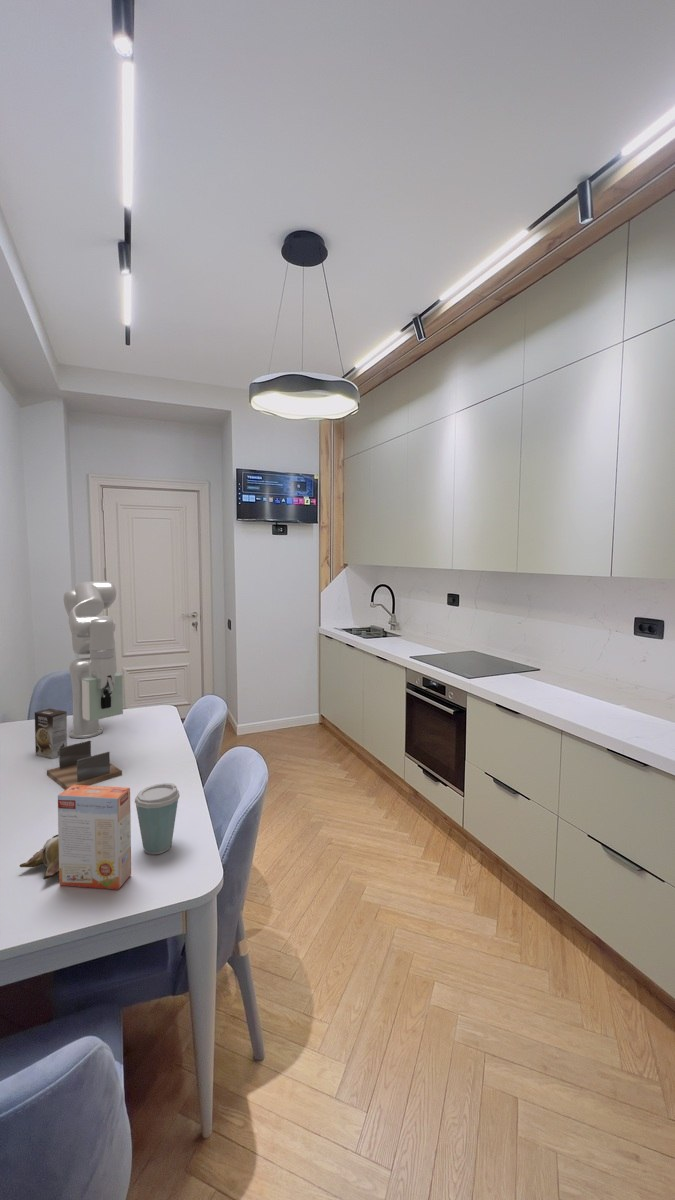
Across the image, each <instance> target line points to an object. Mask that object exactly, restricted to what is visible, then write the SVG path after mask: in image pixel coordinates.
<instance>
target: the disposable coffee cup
mask: <svg viewBox="0 0 675 1200" xmlns="http://www.w3.org/2000/svg"><path fill="white" fill-rule="evenodd" d="M179 798H180V792H179V790H178V786H177V785H176V784H175V783H170V782H164V783H163V782H162V783H156V784H153V785H150V786H147V787H145V788H143V789H142V790H140V791H139V792H138V793H137V794H136V795H135V798H134V803H135V807H136V812H137V818H138V819H137V820H138V825H139V831H140V837H141V843H142V848H143V850H144V852H145V853H146V854H149V855H160V854H163V853H166V852H167V851H168V850H170V848H171V847H172V843H173V837H174V832H175V831H174V830H175V822H176V817H177V816H176V815H177V809H178V803H179Z"/></svg>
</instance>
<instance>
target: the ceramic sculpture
mask: <svg viewBox="0 0 675 1200" xmlns="http://www.w3.org/2000/svg"><path fill="white" fill-rule="evenodd" d="M42 865H44V866H45V867H46V870H45V871H46V872H45V874H44V876H43V877H42V879H43V880H46V879H47V880H48V879H52V878H55V877H58V876H59V837H58V834H55V835H53V836H52V837H51V838H49V839H48V840H46V842H45V843H44V845H43V846H42V848H41V849H40V850H39V851H37V852H35V853H34V854H33V855H32V857H30V858H29V859H28V860H27V861H26V862H22V863H21V864H20V865H19V867H20V868H36V867H39V866H42Z"/></svg>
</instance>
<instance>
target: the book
mask: <svg viewBox="0 0 675 1200" xmlns="http://www.w3.org/2000/svg"><path fill="white" fill-rule="evenodd" d="M123 686H124V685H123V674H122V673H118V672H116V673H115V684H114V686H113V687H114V691H113V692H112V696H111V707H110V708H105V709H102V708H101V697H102V690H101V689H98V688H97V679H96V678H93V677H89V678H83V679H82V715H83V720H86V721H88V722H89V721H93V720H98V719H99V720H102V719H106V718H111V717H115V716H119V715H123V714H124V708H123V707H124V702H123V701H124V700H123V697H124V696H123V694H124V693H123V691H124V690H123V688H124V687H123ZM106 687H108V686H105V688H106ZM106 690H108V689H106ZM106 690H105V691H106Z"/></svg>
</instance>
